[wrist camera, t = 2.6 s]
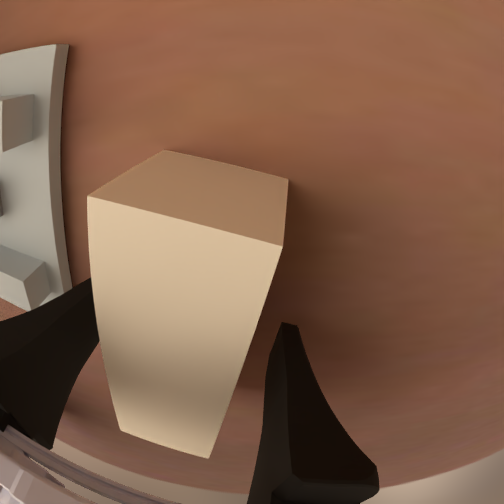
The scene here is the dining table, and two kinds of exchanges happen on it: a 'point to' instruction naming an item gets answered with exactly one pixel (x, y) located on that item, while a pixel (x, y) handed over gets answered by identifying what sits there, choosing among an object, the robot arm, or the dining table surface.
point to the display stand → (32, 177)
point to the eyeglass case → (181, 289)
